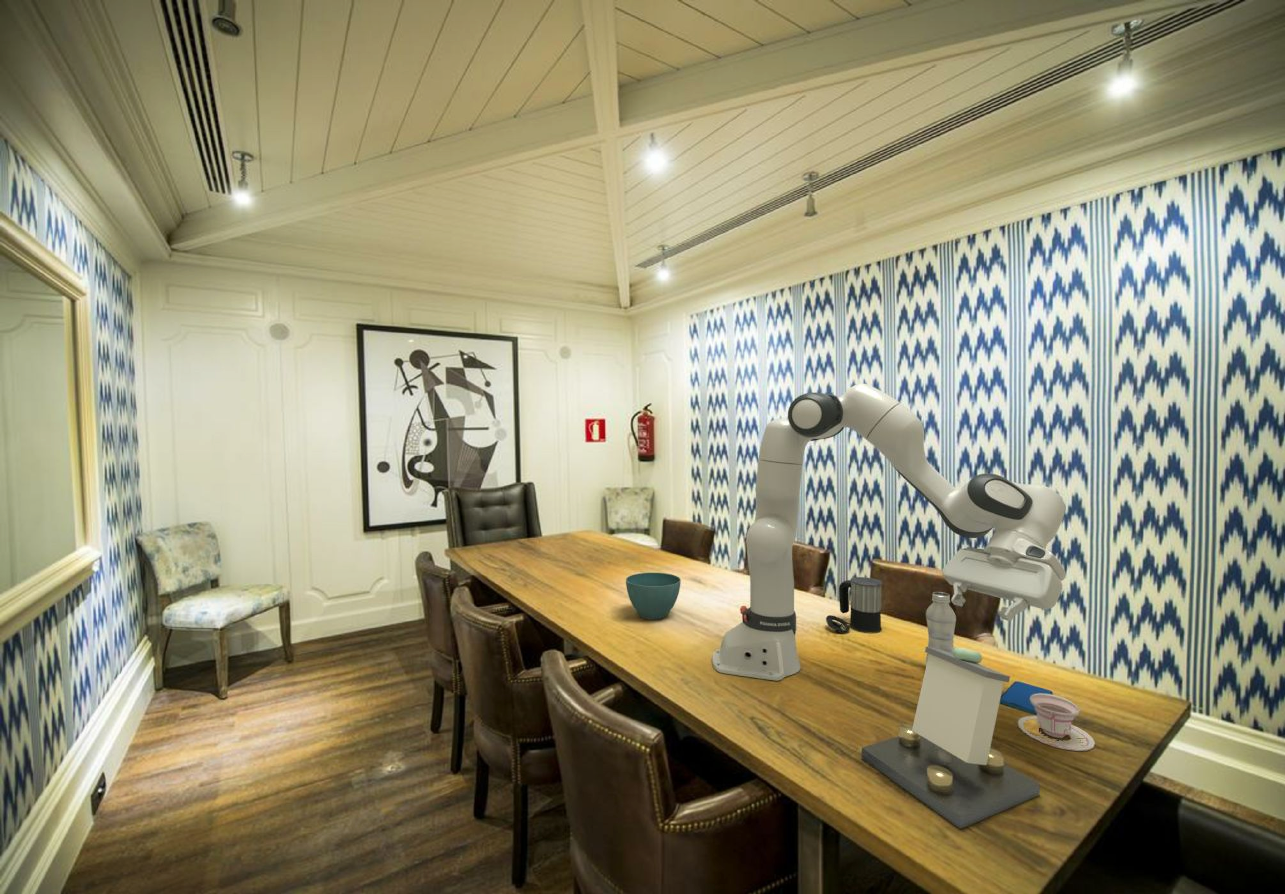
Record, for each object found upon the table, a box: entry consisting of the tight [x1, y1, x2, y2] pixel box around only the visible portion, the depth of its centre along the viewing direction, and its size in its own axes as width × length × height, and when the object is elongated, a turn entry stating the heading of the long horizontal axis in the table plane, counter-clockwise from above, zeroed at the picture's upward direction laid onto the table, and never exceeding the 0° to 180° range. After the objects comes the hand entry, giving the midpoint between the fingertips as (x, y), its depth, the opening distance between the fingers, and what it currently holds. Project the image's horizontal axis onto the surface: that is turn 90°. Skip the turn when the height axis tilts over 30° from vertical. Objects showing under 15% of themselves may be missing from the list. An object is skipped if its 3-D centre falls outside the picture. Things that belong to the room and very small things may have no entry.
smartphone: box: [999, 681, 1054, 715], centre depth 118 cm, size 7×1×15 cm
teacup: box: [1017, 693, 1096, 752], centre depth 104 cm, size 12×12×6 cm
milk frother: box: [825, 576, 883, 634], centre depth 161 cm, size 14×16×15 cm
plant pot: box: [625, 572, 682, 621], centre depth 174 cm, size 18×18×12 cm
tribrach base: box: [861, 723, 1041, 830], centre depth 91 cm, size 19×19×4 cm
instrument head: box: [912, 646, 1011, 765], centre depth 92 cm, size 6×11×20 cm, turn 23°
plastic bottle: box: [925, 591, 957, 665], centre depth 130 cm, size 6×7×20 cm
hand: (979, 610), depth 100 cm, fingers open, 8 cm apart
